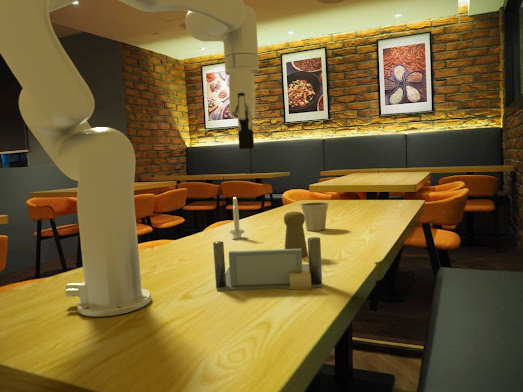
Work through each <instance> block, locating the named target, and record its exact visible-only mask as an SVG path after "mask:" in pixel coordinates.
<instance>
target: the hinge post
mask: <svg viewBox="0 0 523 392" xmlns="http://www.w3.org/2000/svg"><path fill="white" fill-rule="evenodd" d="M224 246H225V244H224V241H220V240H219V241H214V242H213V243H212V247H213V260H214V262H213V263H214V274H215V277H214V279H215V288H216V289H217V288H222V287H225V286H226V274H225V273H226V265H225V264H226V262H225V248H224Z"/></svg>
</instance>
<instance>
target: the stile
mask: <svg viewBox="0 0 523 392" xmlns="http://www.w3.org/2000/svg"><path fill="white" fill-rule="evenodd" d="M321 245H322V244H321V237H318V236H312V237H308V238H307V252H308V256H307V257H308V264H309V270H305V271H289V278H290V288H289V290H290V291H297V290H300V291H301V290H312V289H313V288H311V284H313V285H318V284H322V285H323V273H322V272H323V271H322V270H323V267H322V250H321V249H322V247H321Z"/></svg>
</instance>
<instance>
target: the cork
mask: <svg viewBox="0 0 523 392" xmlns="http://www.w3.org/2000/svg"><path fill="white" fill-rule="evenodd" d="M283 222H284V225H285V227H286V229H285V237H284V238H285V239H284V249H300V248H301V252H302V259H303V258H306V257H308V246H307V241H306V236H305V230H304V224H305V217H304V214H303V212H300V211H290V212H286V213H285V214H284V217H283Z"/></svg>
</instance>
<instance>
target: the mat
mask: <svg viewBox="0 0 523 392" xmlns="http://www.w3.org/2000/svg"><path fill="white" fill-rule="evenodd" d="M305 270H309V263H307V264H303V263H302V271H305ZM225 274H226V286H225V287H222V288H216V291H217V292H218V291H219V292H220V291H222V292H224V291H225V292H227V291H253V290H255V291H256V290H257V291H258V290H279V289H280V290H281V289H282V290H283V289H290V283H288V284H259V285H237V286H231V283H230V267H228V268H227V270H226V271H225ZM322 287H323V283H322V284H318V285H313V284H311V288H312V289H313V288H317V289H318V288H322Z"/></svg>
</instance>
